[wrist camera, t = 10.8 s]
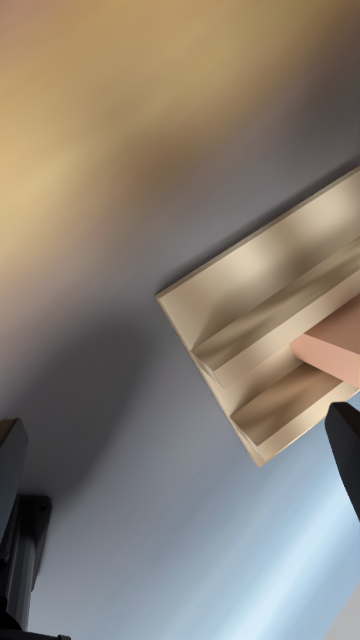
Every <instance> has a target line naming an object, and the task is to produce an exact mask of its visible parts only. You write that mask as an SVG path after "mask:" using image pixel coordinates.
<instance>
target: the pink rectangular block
mask: <svg viewBox="0 0 360 640" xmlns="http://www.w3.org/2000/svg"><path fill="white" fill-rule="evenodd" d="M289 346H290V348H291V350H292V352H293V354H294V357H296V358H298V359H300V360H302V361H304V362H306V363H308V364H310V365H312V366H314V367H317V368H319V369H321V370H323V371H325V372H327V373H329V374H331V375H333V376H335V377H337V378H339V379H341V380H343V381H345V382H347V383H349V384H351V385H353V386H355V387H357V388H359V389H360V293H359V294H358V295H356V296H355V297H353V298H352V299H351V300H349V301H348V302H346V303H345V304H344V305H342V306H341V307H339V308H338V309H337V310H335V311H334V312H332V313H331V314H330V315H328V316H327V317H325V318H324V319H323V320H321V321H320V322H318V323H317V324H316V325H314V326H313V327H311V328H310V329H309V330H307V331H306V332H304V333H303V334H302V335H300V336H299V337H297V338H296V339H295V340H293V341H292V342H290V343H289Z"/></svg>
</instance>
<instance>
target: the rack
mask: <svg viewBox="0 0 360 640" xmlns="http://www.w3.org/2000/svg"><path fill="white" fill-rule="evenodd" d="M359 293H360V166H357V167H356V168H354V169H353V170H351V171H349V172H348V173H346V174H345V175H343V176H342V177H340V178H338V179H337V180H335V181H334V182H332V183H331V184H329V185H327V186H326V187H324V188H323V189H321V190H320V191H318V192H316V193H315V194H313V195H312V196H310V197H309V198H307V199H305V200H304V201H302V202H301V203H299V204H298V205H296V206H294V207H293V208H291V209H290V210H288V211H287V212H285V213H283V214H282V215H280V216H279V217H277V218H276V219H274V220H273V221H271V222H269V223H268V224H266V225H265V226H263V227H262V228H260V229H258V230H257V231H255V232H254V233H252V234H251V235H249V236H247V237H246V238H244V239H243V240H241V241H240V242H238V243H236V244H235V245H233V246H232V247H230V248H229V249H227V250H225V251H224V252H222V253H221V254H219V255H218V256H216V257H214V258H213V259H211V260H210V261H208V262H207V263H205V264H203V265H202V266H200V267H199V268H197V269H196V270H194V271H192V272H191V273H189V274H188V275H186V276H185V277H183V278H182V279H180V280H178V281H177V282H175V283H174V284H172V285H171V286H169V287H167V288H166V289H164V290H163V291H161V292H160V293H158V294H156V295H155V296H154V297H155V298H156V300H157V302H158V303H159V305H160V307H161V308H162V310H163V312H164V313H165V315H166V317H167V318H168V320H169V322H170V323H171V325H172V327H173V328H174V330H175V332H176V333H177V335H178V337H179V338H180V340H181V342H182V343H183V345H184V347H185V348H186V350H187V352H188V353H189V355H190V357H191V358H192V360H193V362H194V363H195V365H196V367H197V369H198V370H199V372H200V374H201V375H202V377H203V379H204V380H205V382H206V384H207V385H208V387H209V389H210V390H211V392H212V394H213V395H214V397H215V399H216V400H217V402H218V404H219V405H220V407H221V409H222V410H223V412H224V414H225V415H226V417H227V419H228V420H229V422H230V424H231V425H232V427H233V429H234V430H235V432H236V434H237V435H238V437H239V439H240V440H241V442H242V444H243V445H244V447H245V449H246V450H247V452H248V454H249V456H250V457H251V459H252V460H253V461H254V462H255V463H256V464H257V466H258V467H259V468H260V467H261V466H263V465H264V464H265V463H266V462H268V461H269V460H270V459H272V458H273V457H274V456H276V455H277V454H278V453H279V452H281V451H282V450H283V449H285V448H286V447H287V446H289V445H290V444H291V443H292V442H294V441H295V440H296V439H298V438H299V437H300V436H301V435H303V434H304V433H305V432H307V431H308V430H309V429H311V428H312V427H313V426H314V425H316V424H317V423H318V422H320V421H321V420H322V419H324V418H325V417H326V415H327V412H328V409H329V406H330V404H331V403H332V402H341V401H344V402H346V401H347V400H348V399H350V398H351V397H352V396H353V395H355V394H356V393H357V392H359V391H360V389H359V388H357V387H355V386H353V385H351V384H349V383H347V382H345V381H343V380H341V379H339V378H337V377H335V376H333V375H331V374H329V373H327V372H325V371H323V370H321V369H319V368H317V367H314V366H312V365H310V364H308V363H306V362H304V361H302V360H300V359H298V358H296V357H294V354H293V352H292V350H291V348H290V346H289V343H290V342H292V341H293V340H295V339H296V338H297V337H299V336H300V335H302V334H303V333H304V332H306V331H307V330H309V329H310V328H311V327H313V326H314V325H316V324H317V323H318V322H320V321H321V320H323V319H324V318H325V317H327V316H328V315H330V314H331V313H332V312H334V311H335V310H337V309H338V308H339V307H341V306H342V305H344V304H345V303H346V302H348V301H349V300H351V299H352V298H353V297H355V296H356V295H358V294H359Z"/></svg>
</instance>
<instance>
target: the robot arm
mask: <svg viewBox="0 0 360 640" xmlns="http://www.w3.org/2000/svg"><path fill="white" fill-rule="evenodd" d="M325 429H326V433H327V436H328V439H329V442H330V445H331V448H332V452H333V455H334V458H335V461H336V464H337V468H338V471H339V474H340V477H341V479H342V482H343V484H344V487H345V489H346V491H347V494H348V496H349V498H350V501H351V503H352V505H353V507H354V510H355V512H356V514H357V517H358V519H359V521H360V412H359V411H358V410H357V409H355V408H354V407H353V406H351V405H350V404H349V403H347V402H344V401H341V402H332V403H331V404H330V406H329V409H328V412H327V415H326V419H325ZM27 444H28V437H27V434H26V431H25V428H24V426H23V423H22V421H21V419H20V418H19V417H10V418H4V419H2V420H1V421H0V640H71V638H70V637H69V636H64V635H58V636H57V637H54V636H49V635H43V634H38V633H33V632H27V626H28V616H29V607H30V597H31V592H32V591H33V589H34V585H35V580H36V576H37V572H38V567H39V563H40V558H41V554H42V549H43V545H44V540H45V536H46V531H47V527H48V522H49V518H50V513H51V509H52V499H51V498H50V497H49V496H35V495H16V493H17V489H18V485H19V480H20V476H21V471H22V467H23V462H24V458H25V453H26V448H27ZM41 504H46V506H45V507H40V505H41Z"/></svg>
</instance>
